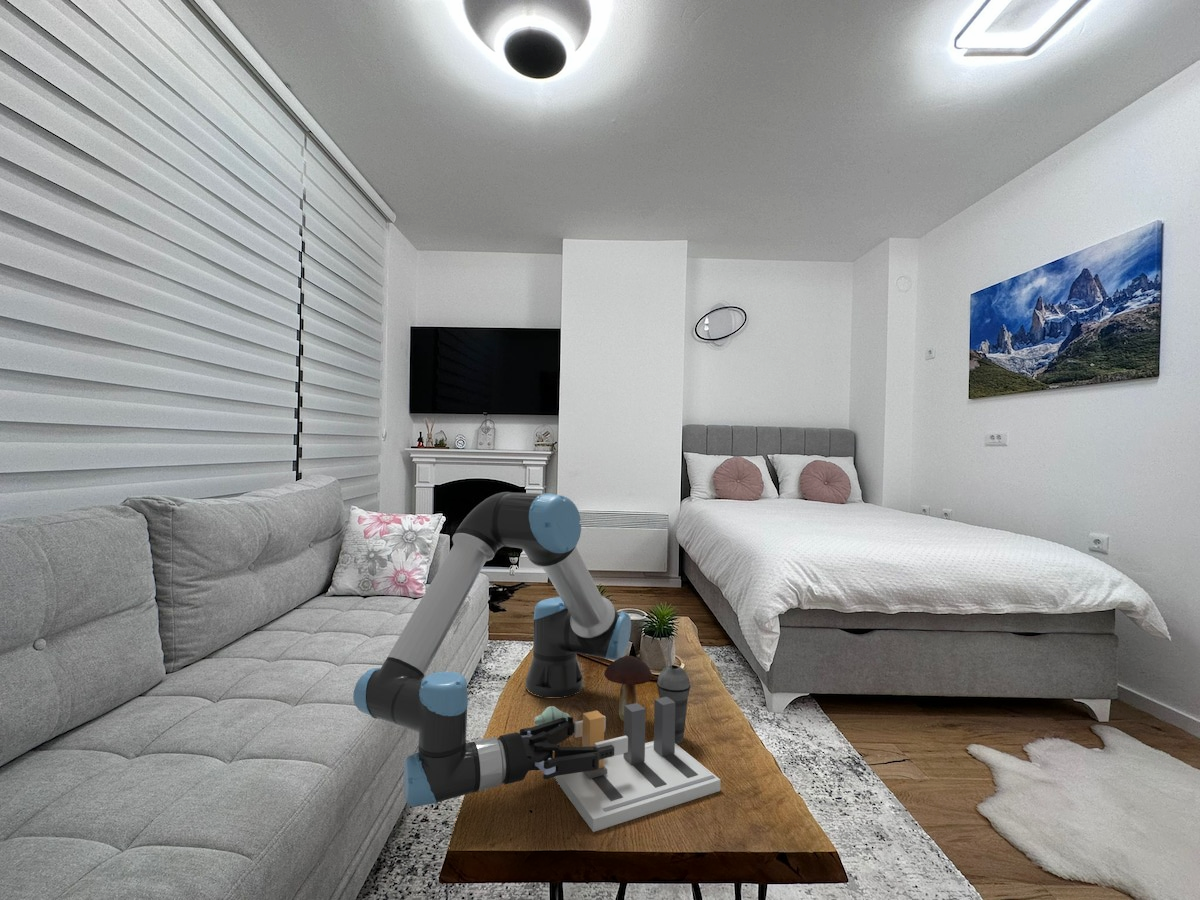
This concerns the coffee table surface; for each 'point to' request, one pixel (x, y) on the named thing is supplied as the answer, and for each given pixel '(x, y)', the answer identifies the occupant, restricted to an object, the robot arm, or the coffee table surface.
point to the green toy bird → (550, 715)
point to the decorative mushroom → (628, 678)
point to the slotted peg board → (640, 773)
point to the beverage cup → (675, 693)
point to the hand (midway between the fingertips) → (615, 733)
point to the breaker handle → (593, 737)
